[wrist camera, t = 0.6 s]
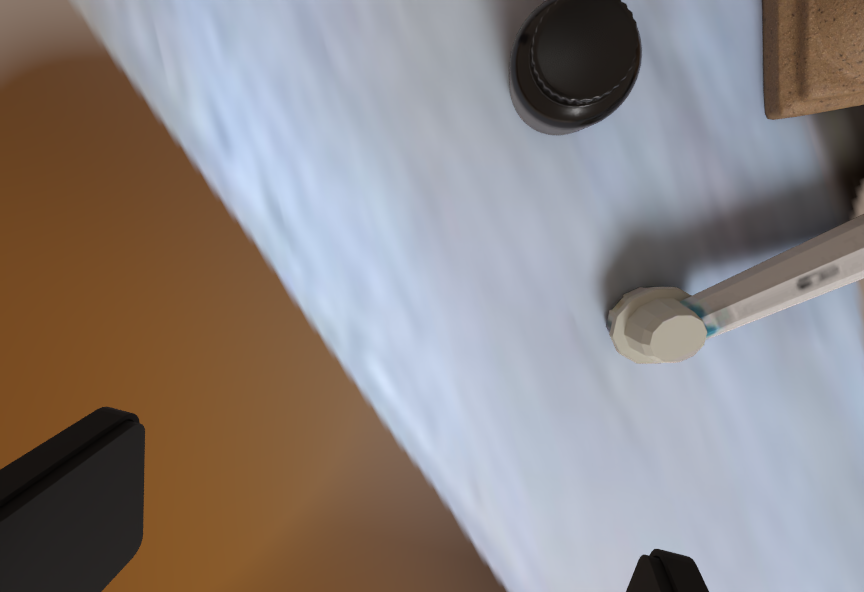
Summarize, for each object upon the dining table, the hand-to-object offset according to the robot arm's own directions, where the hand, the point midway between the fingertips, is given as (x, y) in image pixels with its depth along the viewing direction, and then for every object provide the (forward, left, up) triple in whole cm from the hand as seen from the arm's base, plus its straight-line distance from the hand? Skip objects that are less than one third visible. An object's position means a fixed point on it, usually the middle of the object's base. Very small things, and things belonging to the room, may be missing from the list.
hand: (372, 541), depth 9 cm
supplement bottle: (-11, -6, -30) cm, 33 cm away
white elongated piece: (-18, +13, -31) cm, 38 cm away
